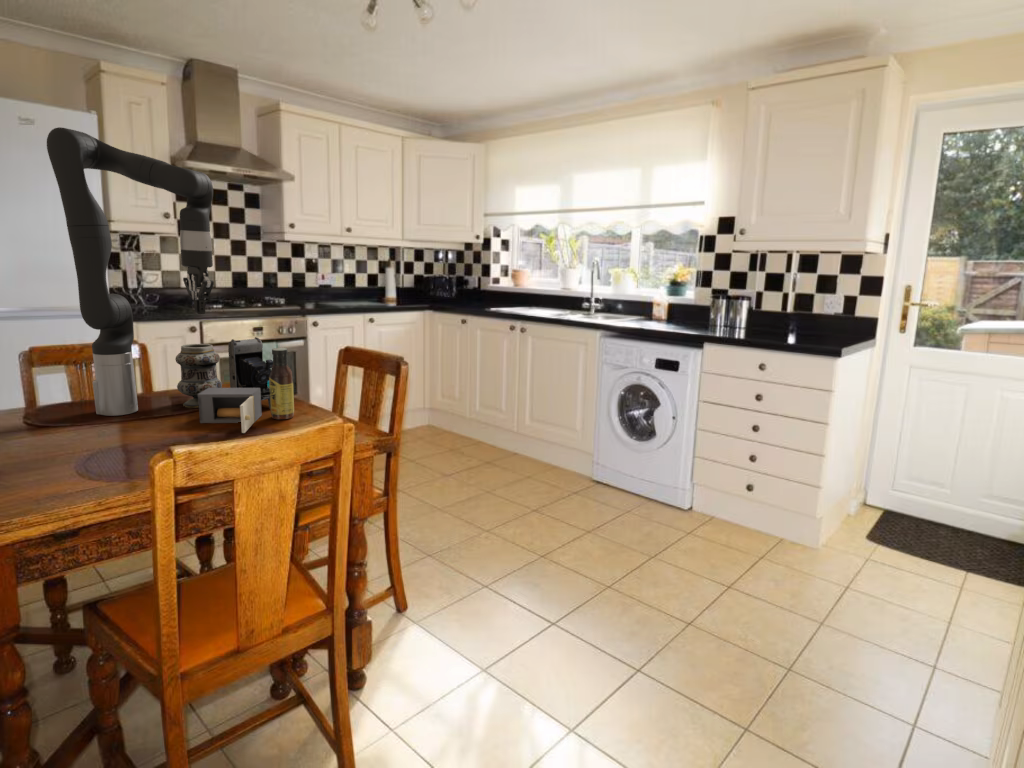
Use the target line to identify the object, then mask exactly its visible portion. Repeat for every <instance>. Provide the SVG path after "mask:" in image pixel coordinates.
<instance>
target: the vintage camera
mask: <svg viewBox="0 0 1024 768" xmlns="http://www.w3.org/2000/svg"><path fill="white" fill-rule="evenodd" d="M263 347H264V346H263V342H262V340H261V339H260V338H259V337H257V336H256V337H254V338H249V339H240V340H239V339H238V340H235V339H234V338H233V339H231V340H230V341H229V342H228V370H229V388H260V391H261V401H264V400H267V403H268V409H270V410H271V406H270V387H269V386H268V383H269V375H270V372H271V369H272V366H273V359H265V360H264V357H263V355H264V353H263Z"/></svg>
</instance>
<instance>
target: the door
mask: <svg viewBox="0 0 1024 768" xmlns="http://www.w3.org/2000/svg"><path fill="white" fill-rule="evenodd" d="M240 413H241V423H240V425H241V434H246V432H247V431H248V430H249V429H250V428H251V427H252V426H253V424H254V423H256V421H255V412H254V396H249V398H248V399H247V400H246V401H245V402H244V403H243V404H241V405H240Z"/></svg>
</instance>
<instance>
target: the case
mask: <svg viewBox="0 0 1024 768" xmlns="http://www.w3.org/2000/svg"><path fill="white" fill-rule="evenodd" d="M249 396H254V412H255V422H256V421H257V420H259V418H261V417H262V415H263V409H262V400H261V391H260V388H230V387H221V388H207V389H206V390H204V391H202V392H201V393H199V394H198V405H199V408H198V415H199V423H200V424H239V423H238V422H241V413H240V405H241V404H243V403H244V402H245V401H246V400H247V399H248V398H249Z"/></svg>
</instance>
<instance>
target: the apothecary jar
mask: <svg viewBox="0 0 1024 768" xmlns="http://www.w3.org/2000/svg"><path fill="white" fill-rule="evenodd" d="M220 359H221V357H220V355H219V353H218V352H216V351H215V349H214V346H213V344H209V343H187V344H182V345H181V346H180V352H179V353H178V354H177V355H176V356H175V362H176V363H177V364H178V366H179V365H180V377H181V378H180V380H179V382H178V383H177V385H176V389H177V391H178V392H179V393H181V394H183V395H185V396H188V397H192V398H191V399H189V400H187V401H185V402H184V403H183V404H182V405H183V407H184V406H185V408H190V409H197V408H198V409H199V405H198V394H199V393H201V392H202V391H204V390H206V389H207V388H223V382H222V381H221V379H219V378H218V374H217V372H218V371H217V364H218V363H219V362H220Z"/></svg>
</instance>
